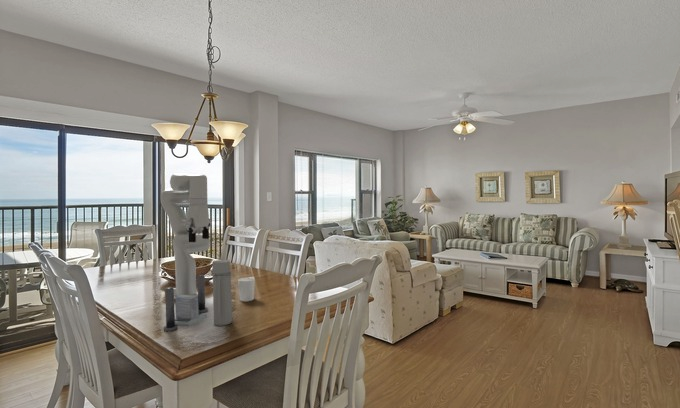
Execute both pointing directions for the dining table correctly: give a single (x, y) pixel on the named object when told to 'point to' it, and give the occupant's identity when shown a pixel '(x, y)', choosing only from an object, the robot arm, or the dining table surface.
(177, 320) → the paddle plate
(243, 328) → the dining table surface
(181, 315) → the medicine box
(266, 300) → the dining table surface
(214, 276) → the water bottle
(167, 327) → the post
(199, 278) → the post
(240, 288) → the white cup
